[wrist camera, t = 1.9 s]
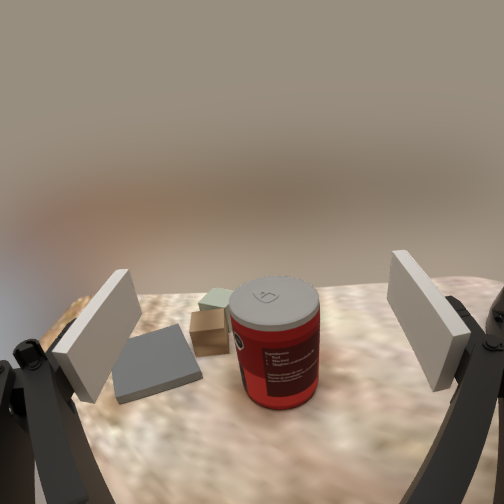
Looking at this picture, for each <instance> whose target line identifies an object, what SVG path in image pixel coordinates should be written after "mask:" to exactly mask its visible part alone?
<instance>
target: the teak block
mask: <svg viewBox="0 0 504 504" xmlns="http://www.w3.org/2000/svg"><path fill="white" fill-rule="evenodd" d="M189 333H190V336H191V340H192V343H193V347H194V350H195V354H196V357H202V356H212V355H221V354H229V335H228V328H227V323H226V318H225V313H224V308H222V309H214V310H206V311H198V312H192V314H191V322H190V330H189Z"/></svg>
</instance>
